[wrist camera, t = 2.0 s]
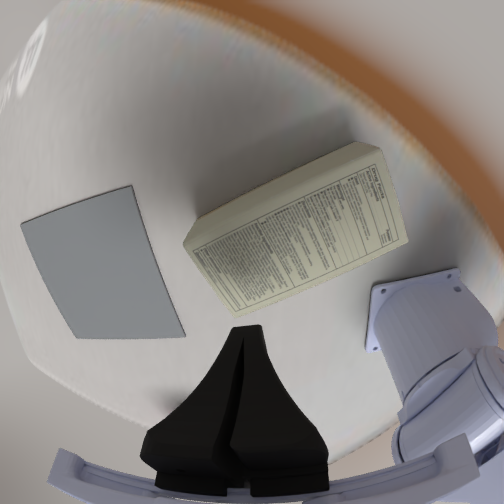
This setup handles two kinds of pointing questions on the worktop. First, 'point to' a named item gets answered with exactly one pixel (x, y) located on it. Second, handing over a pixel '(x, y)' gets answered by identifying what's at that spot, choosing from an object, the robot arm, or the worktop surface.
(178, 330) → the rubber mat
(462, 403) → the robot arm
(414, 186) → the worktop surface
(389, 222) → the skincare box
